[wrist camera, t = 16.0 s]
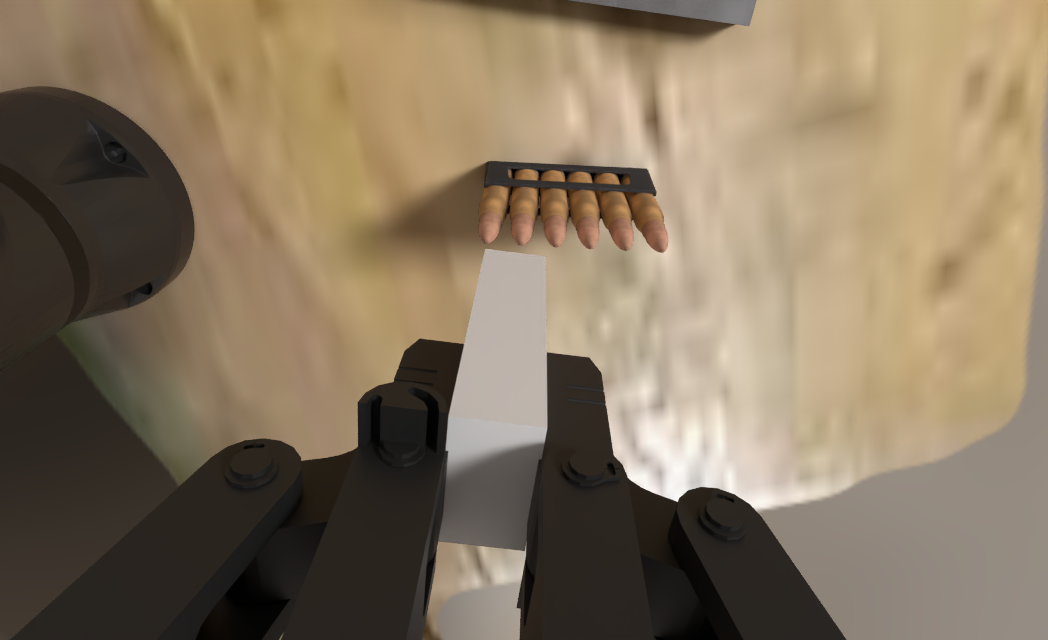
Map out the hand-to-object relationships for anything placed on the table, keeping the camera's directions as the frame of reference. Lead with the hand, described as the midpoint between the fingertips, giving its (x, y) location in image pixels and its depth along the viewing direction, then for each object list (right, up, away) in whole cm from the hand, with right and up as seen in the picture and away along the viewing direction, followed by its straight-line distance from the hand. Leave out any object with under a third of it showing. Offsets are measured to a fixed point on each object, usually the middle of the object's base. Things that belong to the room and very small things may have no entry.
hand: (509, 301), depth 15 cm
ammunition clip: (+3, +9, +25) cm, 27 cm away
